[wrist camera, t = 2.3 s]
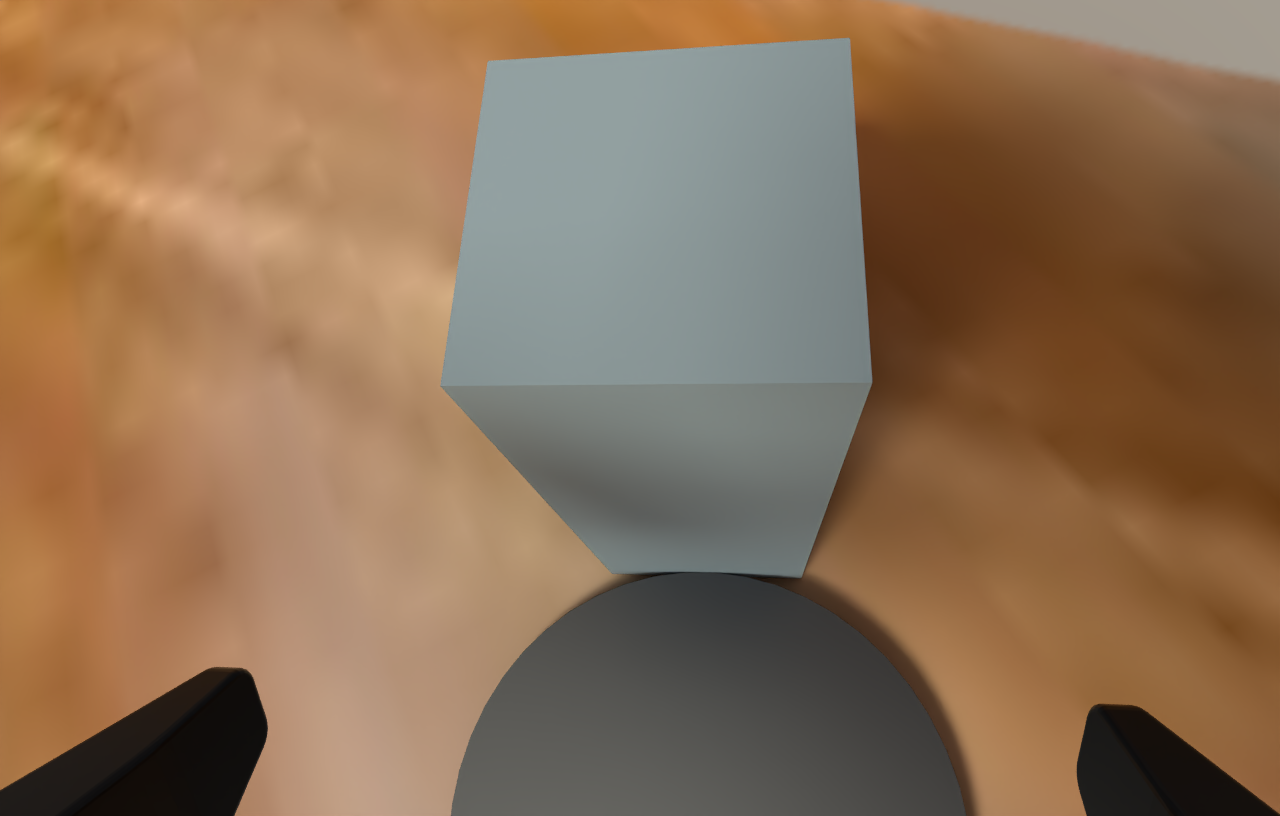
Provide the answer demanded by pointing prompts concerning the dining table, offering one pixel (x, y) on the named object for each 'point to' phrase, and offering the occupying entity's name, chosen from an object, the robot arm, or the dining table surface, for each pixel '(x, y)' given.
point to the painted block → (669, 297)
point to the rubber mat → (704, 714)
